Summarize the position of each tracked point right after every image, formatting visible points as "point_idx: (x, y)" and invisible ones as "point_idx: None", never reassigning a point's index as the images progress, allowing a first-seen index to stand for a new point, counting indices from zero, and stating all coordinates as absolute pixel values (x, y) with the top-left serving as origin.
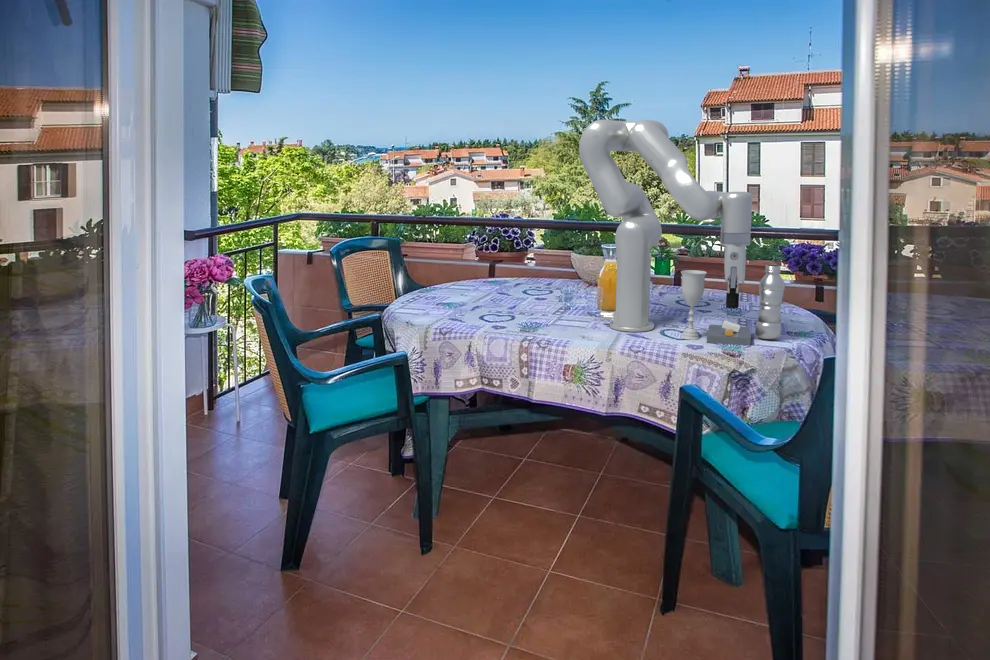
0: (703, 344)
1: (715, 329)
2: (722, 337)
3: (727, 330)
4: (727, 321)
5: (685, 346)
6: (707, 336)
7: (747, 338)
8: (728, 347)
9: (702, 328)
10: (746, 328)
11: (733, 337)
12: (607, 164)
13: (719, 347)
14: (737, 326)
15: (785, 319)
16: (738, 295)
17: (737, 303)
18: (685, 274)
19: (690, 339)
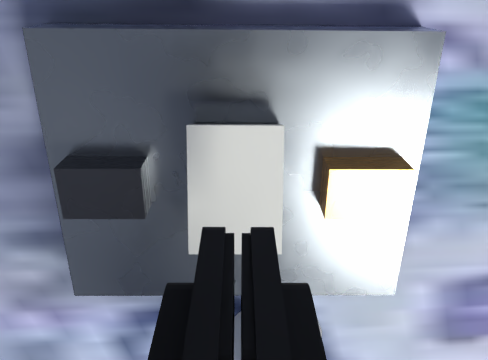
0: (420, 278)
1: None
2: (407, 212)
3: (372, 205)
4: (195, 226)
5: (471, 344)
6: (391, 287)
7: (438, 54)
8: (482, 158)
9: (19, 300)
10: (100, 61)
11: (422, 150)
12: None
13: (485, 204)
14: (271, 145)
15: None
16: (286, 346)
17: (275, 267)
18: None
19: (321, 335)
